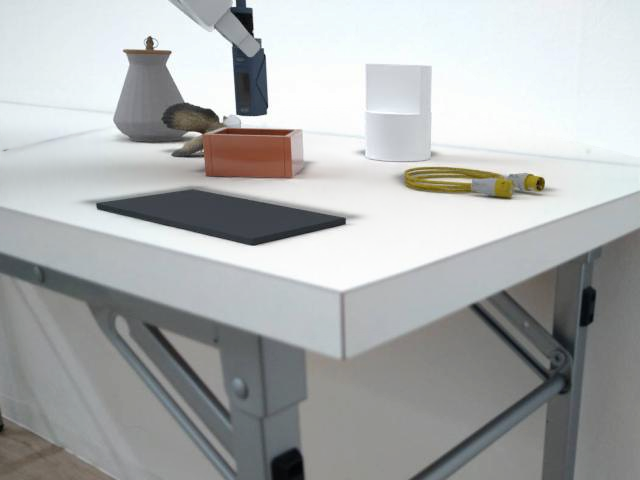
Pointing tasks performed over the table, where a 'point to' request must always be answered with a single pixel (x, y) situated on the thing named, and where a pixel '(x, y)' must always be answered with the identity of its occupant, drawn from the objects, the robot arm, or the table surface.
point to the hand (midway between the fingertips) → (254, 53)
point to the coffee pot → (147, 96)
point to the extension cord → (474, 181)
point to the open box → (253, 152)
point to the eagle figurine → (195, 124)
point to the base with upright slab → (398, 112)
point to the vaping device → (249, 70)
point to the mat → (223, 215)
